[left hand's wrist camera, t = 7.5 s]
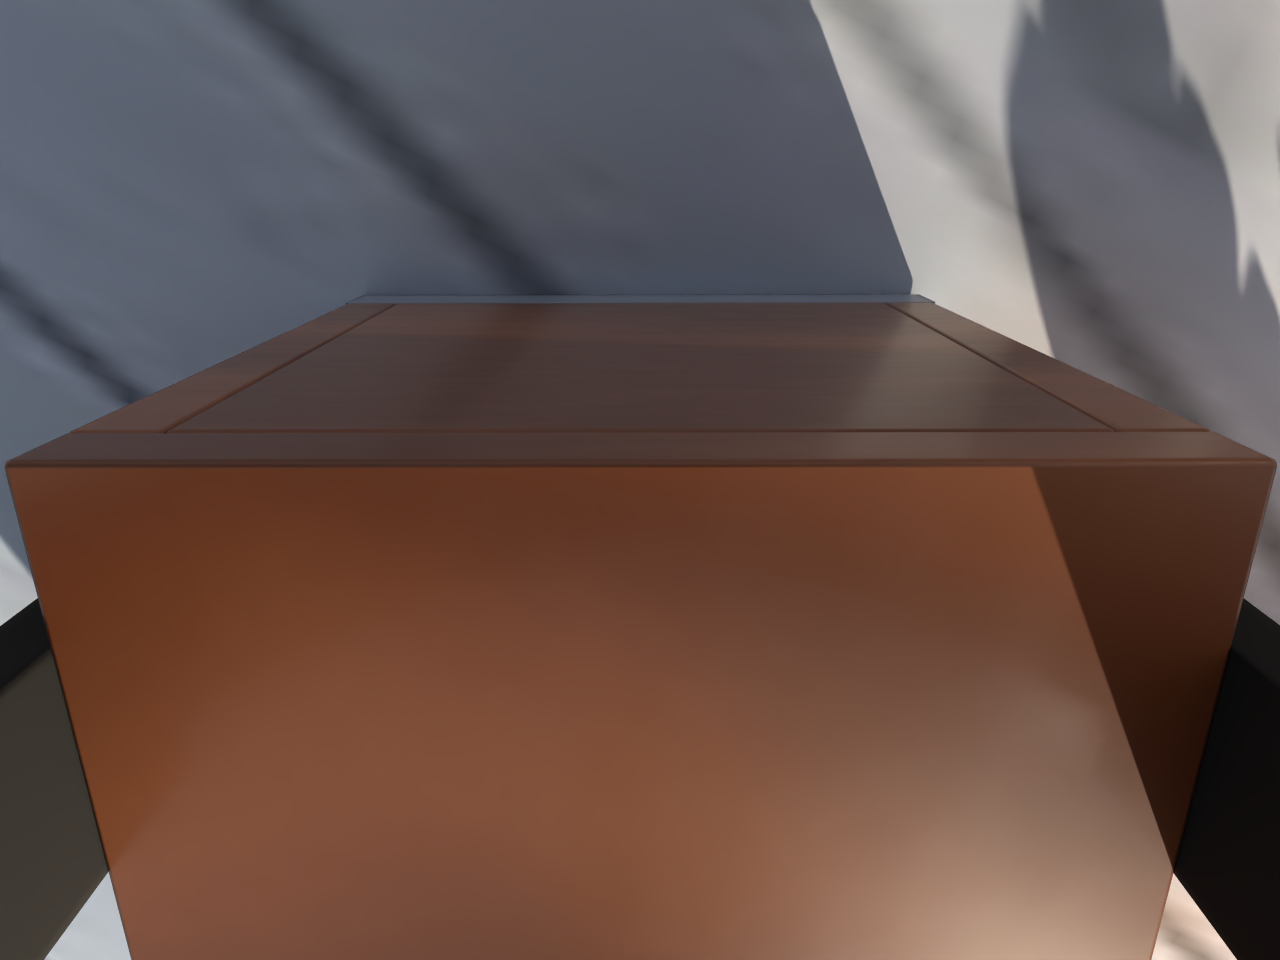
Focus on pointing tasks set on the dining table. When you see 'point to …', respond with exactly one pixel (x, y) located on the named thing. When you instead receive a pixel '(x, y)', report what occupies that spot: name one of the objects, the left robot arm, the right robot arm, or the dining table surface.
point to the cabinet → (641, 636)
